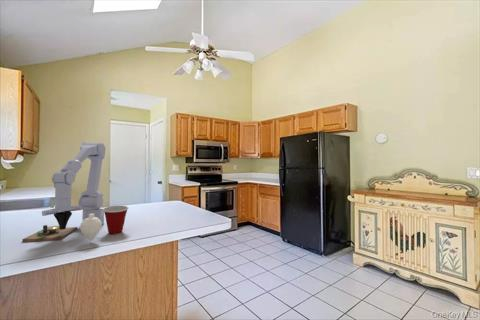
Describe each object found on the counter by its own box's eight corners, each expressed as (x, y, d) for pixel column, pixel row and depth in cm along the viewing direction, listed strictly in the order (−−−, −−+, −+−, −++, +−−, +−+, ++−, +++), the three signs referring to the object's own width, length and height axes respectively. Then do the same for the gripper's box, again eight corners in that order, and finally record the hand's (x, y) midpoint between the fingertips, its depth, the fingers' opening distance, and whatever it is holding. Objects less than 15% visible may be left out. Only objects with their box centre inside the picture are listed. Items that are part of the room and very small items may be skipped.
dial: (48, 227, 108) (48, 220, 108) (63, 226, 109) (63, 220, 109) (35, 233, 99) (36, 226, 99) (52, 232, 100) (52, 225, 100)
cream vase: (98, 245, 94) (99, 215, 94) (76, 246, 92) (77, 216, 92) (103, 239, 101) (104, 211, 102) (83, 240, 99) (84, 212, 99)
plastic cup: (101, 237, 103) (102, 210, 104) (102, 231, 113) (103, 206, 113) (128, 234, 108) (128, 208, 109) (127, 228, 118) (128, 204, 118)
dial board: (77, 229, 115) (77, 223, 115) (61, 239, 100) (61, 233, 100) (44, 231, 112) (44, 225, 112) (22, 242, 96) (22, 235, 96)
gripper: (76, 195, 111) (75, 224, 111) (38, 199, 99) (38, 231, 98) (84, 196, 108) (83, 226, 108) (46, 201, 95) (45, 234, 95)
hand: (62, 229), depth 103 cm, fingers closed
